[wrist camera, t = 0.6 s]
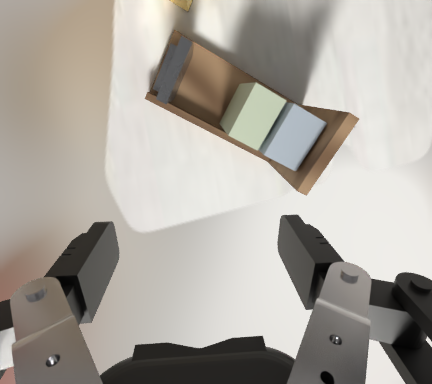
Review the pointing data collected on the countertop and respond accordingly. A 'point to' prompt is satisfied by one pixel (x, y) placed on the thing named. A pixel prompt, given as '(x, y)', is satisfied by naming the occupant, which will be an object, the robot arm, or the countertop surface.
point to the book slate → (291, 136)
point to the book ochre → (183, 4)
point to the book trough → (220, 98)
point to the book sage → (251, 114)
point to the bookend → (173, 70)
